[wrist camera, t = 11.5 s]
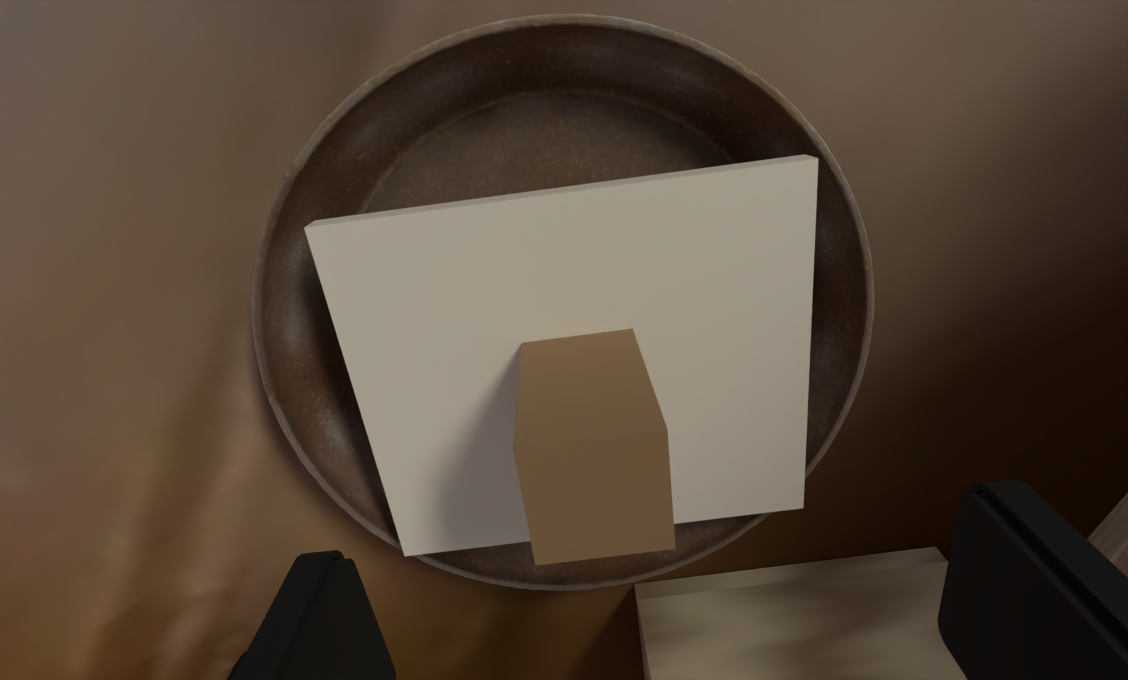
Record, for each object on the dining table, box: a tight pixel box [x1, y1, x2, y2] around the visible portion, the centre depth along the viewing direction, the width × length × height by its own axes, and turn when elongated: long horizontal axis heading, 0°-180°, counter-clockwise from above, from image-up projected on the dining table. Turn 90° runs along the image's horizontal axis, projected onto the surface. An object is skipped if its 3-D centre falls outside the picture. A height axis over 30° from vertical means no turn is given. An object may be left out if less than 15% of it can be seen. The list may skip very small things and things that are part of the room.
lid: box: [304, 154, 818, 566], centre depth 15 cm, size 13×11×6 cm
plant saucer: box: [251, 14, 874, 591], centre depth 19 cm, size 18×18×3 cm
